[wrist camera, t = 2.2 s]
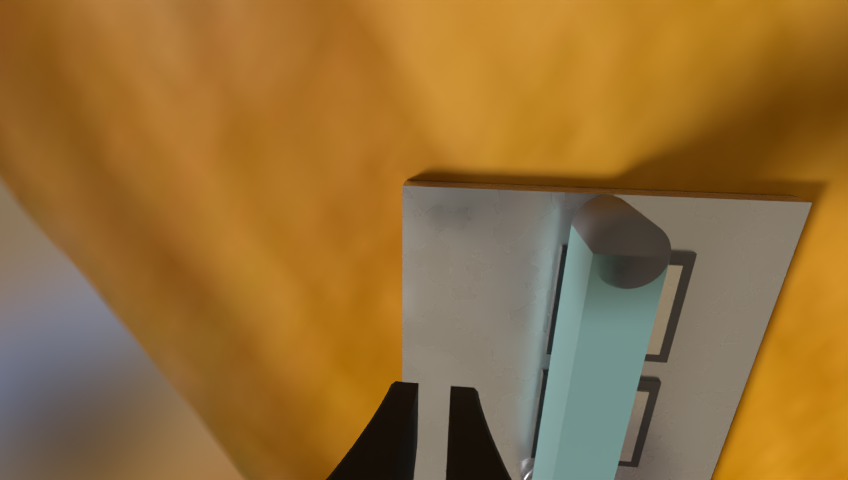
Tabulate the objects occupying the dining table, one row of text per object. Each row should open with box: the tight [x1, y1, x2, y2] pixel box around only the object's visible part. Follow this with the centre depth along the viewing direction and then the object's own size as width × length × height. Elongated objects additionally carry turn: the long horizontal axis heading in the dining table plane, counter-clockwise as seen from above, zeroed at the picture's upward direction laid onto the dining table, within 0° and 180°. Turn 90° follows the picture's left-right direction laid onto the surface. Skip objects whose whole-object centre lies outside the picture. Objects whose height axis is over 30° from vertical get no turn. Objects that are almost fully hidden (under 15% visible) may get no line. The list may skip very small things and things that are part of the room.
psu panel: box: [403, 180, 812, 480], centre depth 20 cm, size 18×16×2 cm
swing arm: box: [532, 196, 671, 480], centre depth 18 cm, size 18×3×3 cm, turn 179°
